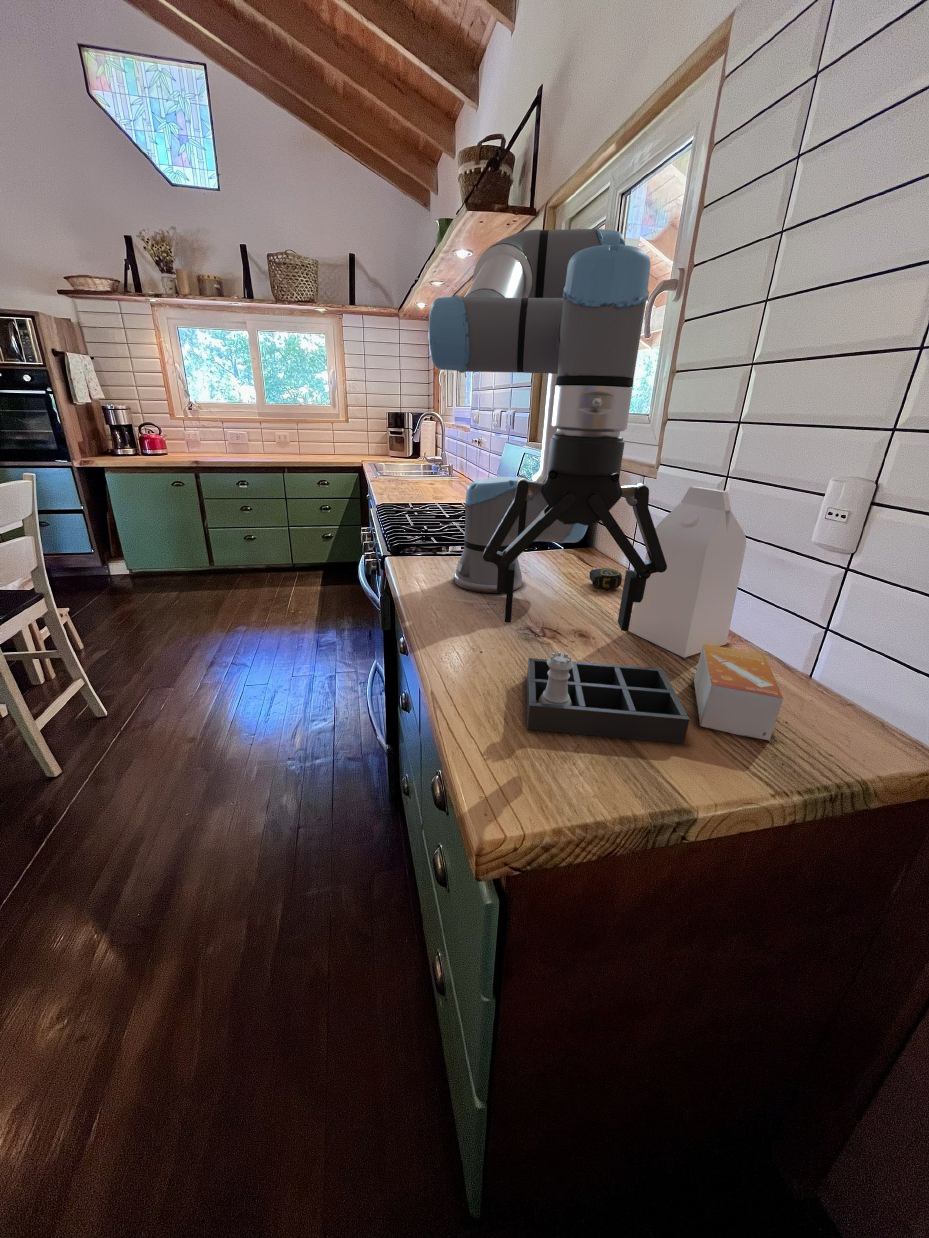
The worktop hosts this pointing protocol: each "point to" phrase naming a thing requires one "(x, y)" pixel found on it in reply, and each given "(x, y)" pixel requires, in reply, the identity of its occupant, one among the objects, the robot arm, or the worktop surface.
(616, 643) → the worktop surface
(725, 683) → the small box
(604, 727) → the grid tray
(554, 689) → the rook chess piece
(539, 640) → the worktop surface
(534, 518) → the robot arm
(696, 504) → the milk
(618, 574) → the tape measure
